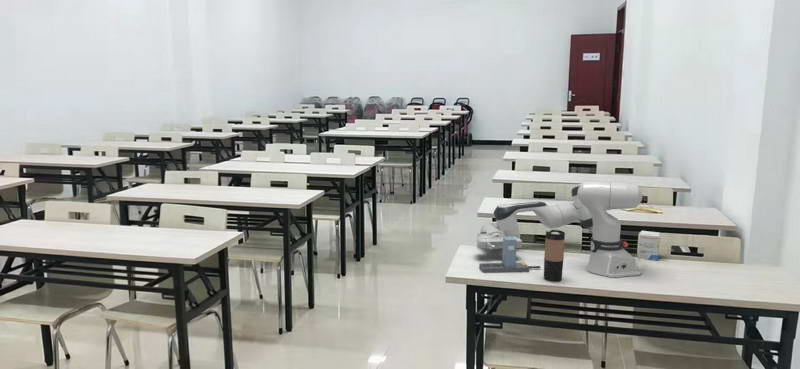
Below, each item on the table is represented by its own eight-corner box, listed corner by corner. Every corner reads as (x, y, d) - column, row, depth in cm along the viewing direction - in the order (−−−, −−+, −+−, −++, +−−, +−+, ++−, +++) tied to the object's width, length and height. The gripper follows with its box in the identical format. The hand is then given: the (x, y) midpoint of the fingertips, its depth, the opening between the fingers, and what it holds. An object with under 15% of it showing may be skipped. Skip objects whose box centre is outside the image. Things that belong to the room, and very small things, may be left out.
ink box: (658, 256, 278) (660, 232, 275) (657, 261, 270) (660, 236, 268) (638, 253, 281) (640, 230, 279) (637, 258, 274) (639, 234, 271)
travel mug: (562, 282, 239) (565, 235, 236) (543, 281, 241) (546, 233, 237) (561, 276, 246) (564, 230, 243) (542, 275, 248) (545, 229, 244)
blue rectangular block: (512, 267, 257) (513, 236, 255) (515, 271, 253) (516, 239, 250) (501, 268, 257) (503, 237, 254) (504, 271, 252) (506, 240, 250)
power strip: (537, 266, 260) (537, 261, 259) (542, 271, 253) (542, 266, 252) (479, 267, 257) (479, 262, 256) (483, 272, 250) (483, 267, 250)
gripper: (516, 245, 276) (526, 254, 262) (473, 246, 274) (481, 255, 260) (517, 232, 275) (526, 240, 261) (474, 233, 273) (481, 241, 259)
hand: (503, 247), depth 261 cm, fingers open, 8 cm apart
